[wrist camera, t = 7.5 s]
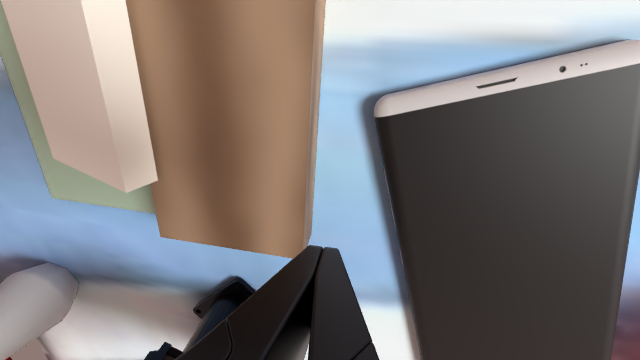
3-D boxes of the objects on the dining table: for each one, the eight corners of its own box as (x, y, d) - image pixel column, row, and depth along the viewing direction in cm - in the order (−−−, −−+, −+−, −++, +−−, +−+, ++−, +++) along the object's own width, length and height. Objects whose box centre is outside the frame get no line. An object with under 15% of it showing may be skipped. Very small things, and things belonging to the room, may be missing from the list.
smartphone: (426, 383, 30) (428, 403, 28) (370, 95, 19) (369, 102, 18) (594, 383, 26) (607, 405, 25) (638, 34, 16) (667, 35, 14)
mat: (151, -129, 16) (145, -133, 15) (196, 215, 25) (192, 219, 24) (-56, -132, 17) (-67, -136, 17) (57, 194, 26) (51, 197, 26)
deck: (333, -126, 15) (322, -158, 12) (311, 233, 24) (302, 259, 21) (132, -129, 16) (83, -159, 13) (183, 214, 25) (160, 236, 22)
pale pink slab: (157, 180, 20) (126, 193, 18) (85, 149, 23) (53, 158, 22) (119, -33, 15) (71, -42, 13) (34, -32, 18) (-12, -39, 17)
